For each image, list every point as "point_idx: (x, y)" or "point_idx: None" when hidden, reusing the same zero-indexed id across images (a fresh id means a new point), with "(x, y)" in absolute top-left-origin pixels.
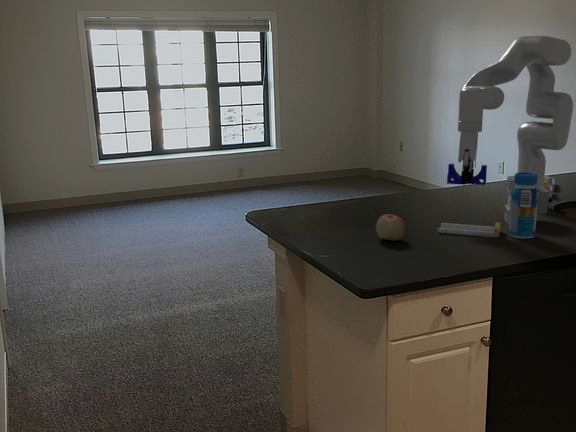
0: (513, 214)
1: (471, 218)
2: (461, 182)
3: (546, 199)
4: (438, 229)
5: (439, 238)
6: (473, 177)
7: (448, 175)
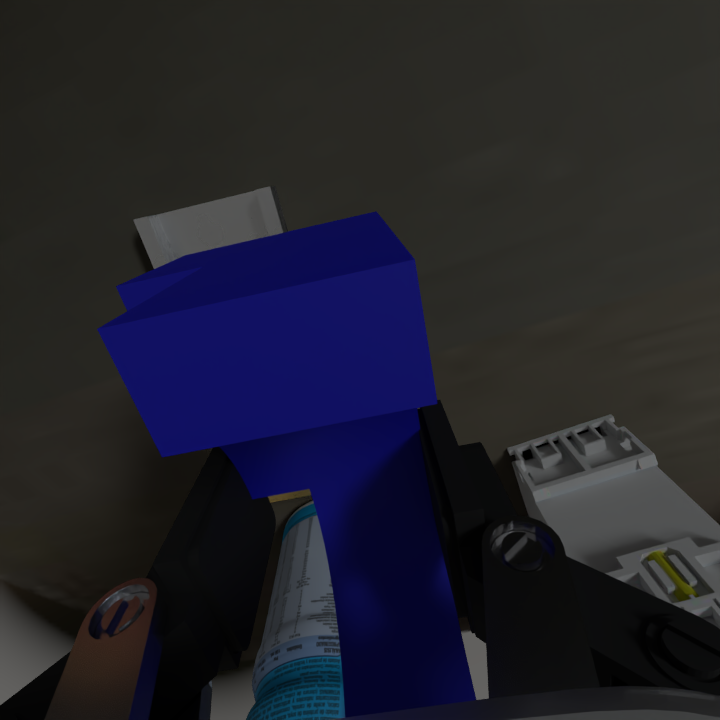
0: (275, 602)
1: (541, 280)
2: (217, 447)
3: None
4: (137, 224)
5: (65, 265)
6: (368, 558)
7: (133, 303)
